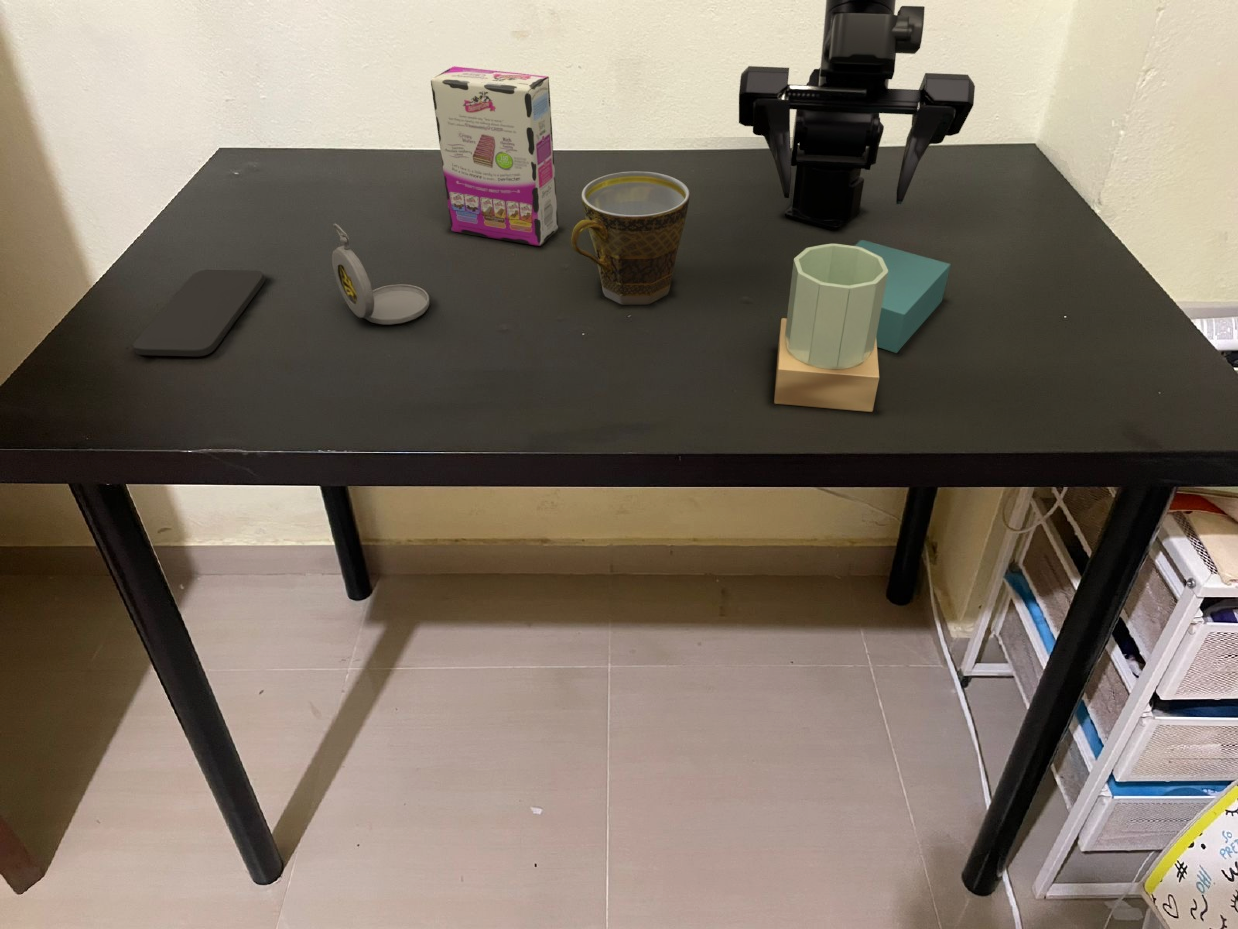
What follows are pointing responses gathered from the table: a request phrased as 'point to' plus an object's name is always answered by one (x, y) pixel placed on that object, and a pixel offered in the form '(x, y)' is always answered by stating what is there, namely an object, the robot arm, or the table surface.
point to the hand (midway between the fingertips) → (842, 199)
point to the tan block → (825, 382)
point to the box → (906, 293)
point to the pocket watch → (380, 303)
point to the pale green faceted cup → (835, 305)
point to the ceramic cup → (634, 233)
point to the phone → (200, 313)
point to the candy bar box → (497, 153)
